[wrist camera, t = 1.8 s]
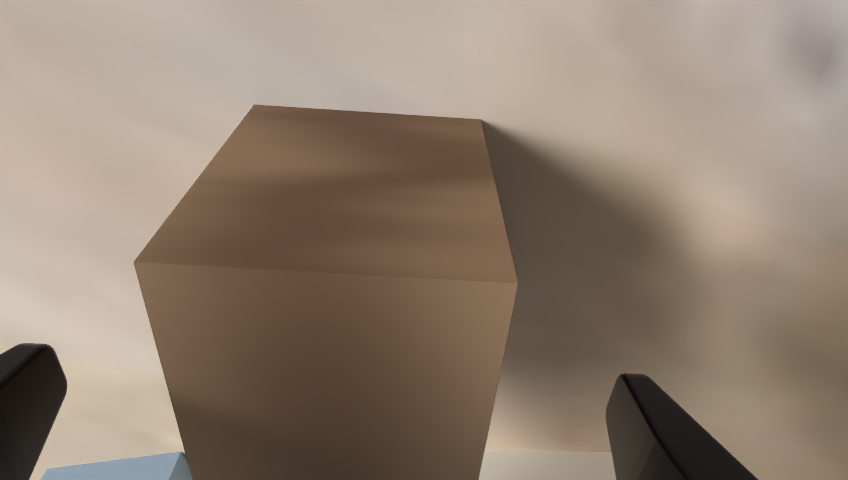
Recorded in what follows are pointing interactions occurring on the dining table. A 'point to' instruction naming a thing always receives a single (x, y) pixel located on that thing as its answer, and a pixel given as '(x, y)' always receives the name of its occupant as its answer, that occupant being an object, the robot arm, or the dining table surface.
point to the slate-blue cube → (127, 469)
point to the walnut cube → (334, 299)
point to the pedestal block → (546, 465)
